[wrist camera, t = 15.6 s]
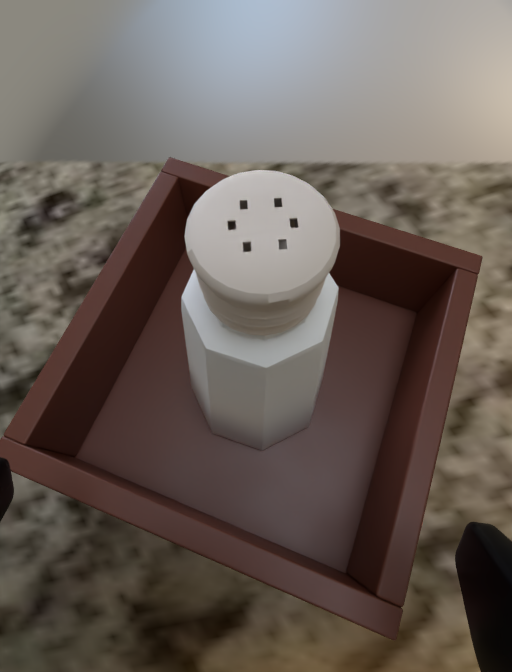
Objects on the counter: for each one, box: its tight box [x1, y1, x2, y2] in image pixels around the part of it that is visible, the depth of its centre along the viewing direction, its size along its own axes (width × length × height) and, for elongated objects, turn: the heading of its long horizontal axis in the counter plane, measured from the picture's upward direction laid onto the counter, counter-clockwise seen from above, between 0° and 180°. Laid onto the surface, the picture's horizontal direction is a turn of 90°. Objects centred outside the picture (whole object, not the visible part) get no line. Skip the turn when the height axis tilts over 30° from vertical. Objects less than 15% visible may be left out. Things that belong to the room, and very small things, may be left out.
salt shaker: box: [181, 170, 340, 451], centre depth 13 cm, size 5×5×11 cm
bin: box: [0, 157, 482, 641], centre depth 16 cm, size 13×13×5 cm
